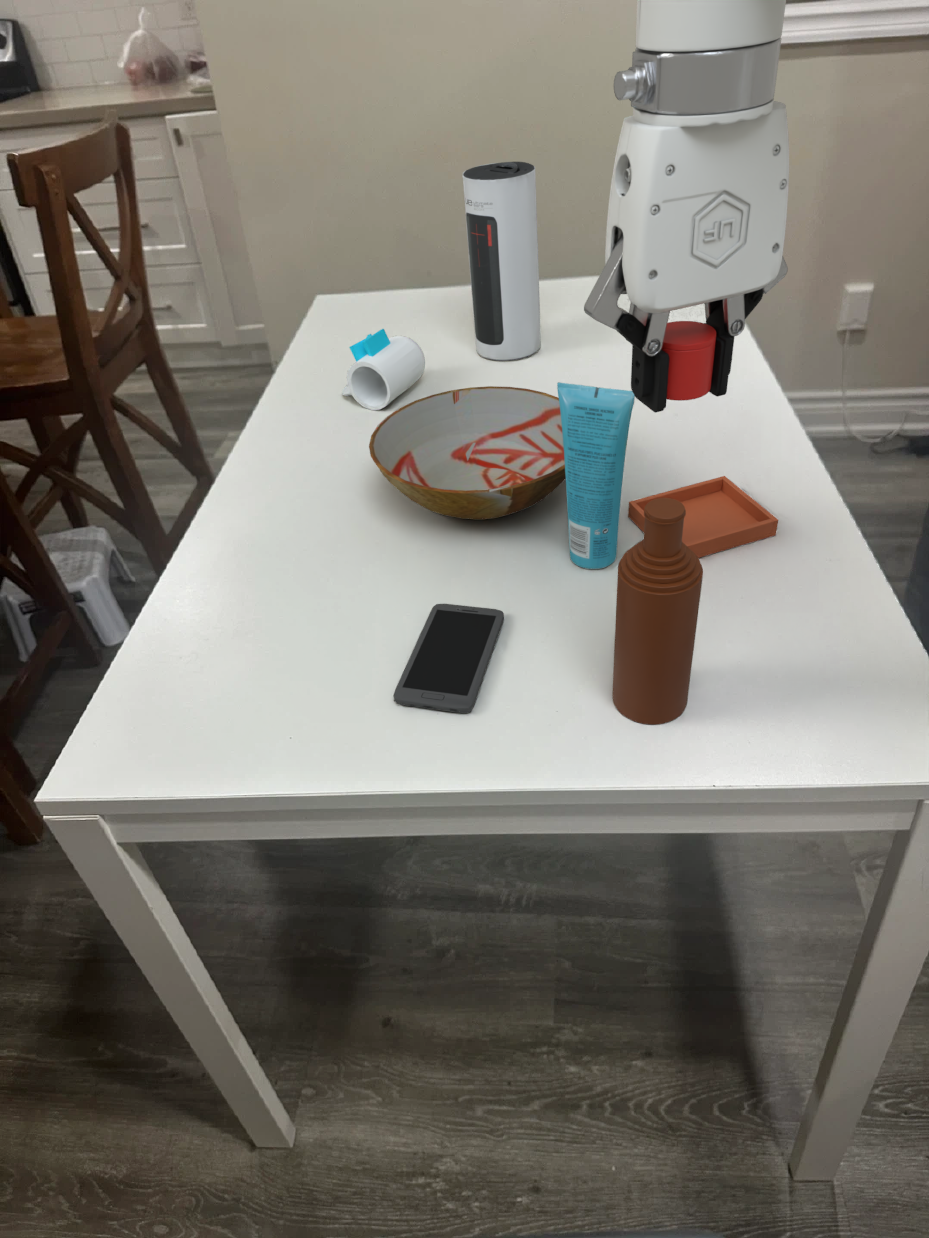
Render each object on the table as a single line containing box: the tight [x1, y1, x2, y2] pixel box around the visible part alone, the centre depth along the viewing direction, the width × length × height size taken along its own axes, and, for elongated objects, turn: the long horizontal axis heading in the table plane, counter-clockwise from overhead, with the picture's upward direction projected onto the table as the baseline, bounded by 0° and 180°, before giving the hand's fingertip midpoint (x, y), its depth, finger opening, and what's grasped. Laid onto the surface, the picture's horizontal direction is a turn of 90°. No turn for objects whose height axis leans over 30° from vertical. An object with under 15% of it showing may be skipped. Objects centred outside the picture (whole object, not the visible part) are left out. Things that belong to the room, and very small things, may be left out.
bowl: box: [368, 385, 566, 521], centre depth 101 cm, size 25×25×8 cm
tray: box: [627, 475, 779, 559], centre depth 94 cm, size 12×10×2 cm
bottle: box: [611, 498, 704, 726], centre depth 69 cm, size 6×6×20 cm
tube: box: [556, 381, 636, 570], centre depth 86 cm, size 7×5×19 cm, turn 71°
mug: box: [341, 328, 426, 411], centre depth 126 cm, size 12×9×12 cm
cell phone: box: [393, 603, 505, 714], centre depth 81 cm, size 7×14×1 cm, turn 165°
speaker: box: [462, 161, 542, 362], centre depth 128 cm, size 11×10×26 cm
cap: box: [662, 320, 716, 402], centre depth 57 cm, size 4×4×4 cm
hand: (679, 393), depth 59 cm, fingers closed on cap, 3 cm apart
